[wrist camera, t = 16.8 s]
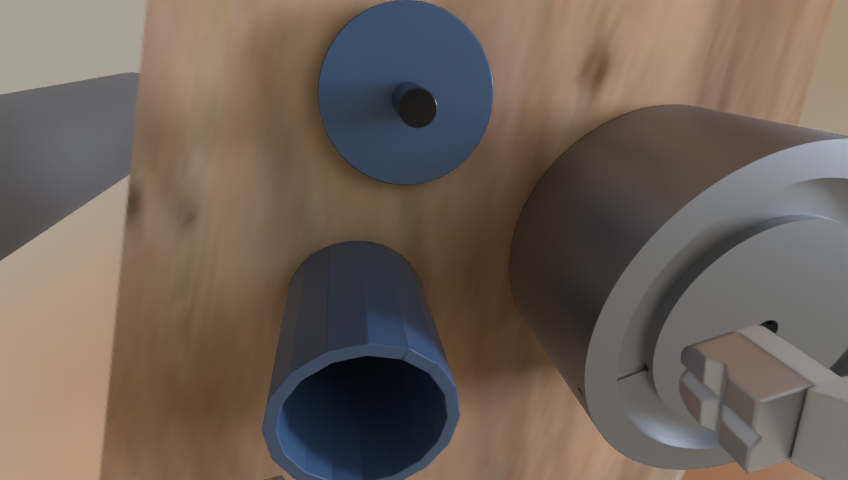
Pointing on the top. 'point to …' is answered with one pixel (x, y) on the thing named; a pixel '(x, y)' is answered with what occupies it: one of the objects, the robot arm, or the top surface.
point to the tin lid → (405, 92)
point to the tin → (358, 371)
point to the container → (681, 262)
